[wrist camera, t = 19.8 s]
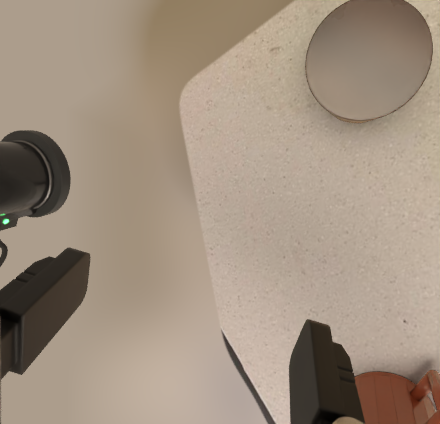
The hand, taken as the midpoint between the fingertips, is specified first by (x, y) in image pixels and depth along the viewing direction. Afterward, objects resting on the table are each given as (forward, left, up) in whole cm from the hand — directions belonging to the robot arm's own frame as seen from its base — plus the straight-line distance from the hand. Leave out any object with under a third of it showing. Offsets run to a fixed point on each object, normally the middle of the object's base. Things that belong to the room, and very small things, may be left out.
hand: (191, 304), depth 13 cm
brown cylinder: (+11, 0, -27) cm, 29 cm away
